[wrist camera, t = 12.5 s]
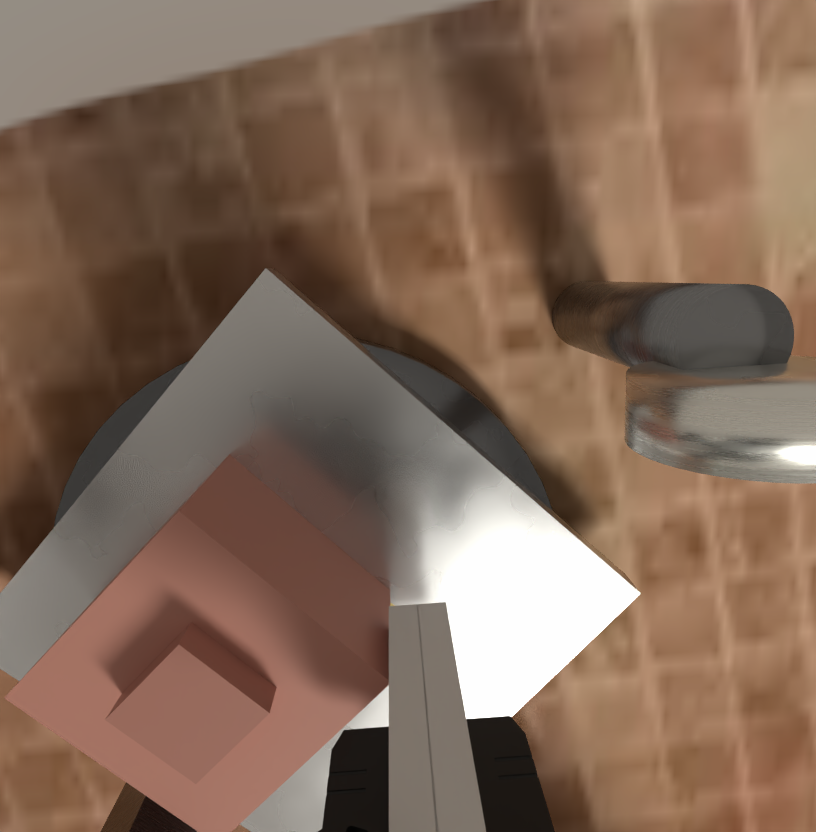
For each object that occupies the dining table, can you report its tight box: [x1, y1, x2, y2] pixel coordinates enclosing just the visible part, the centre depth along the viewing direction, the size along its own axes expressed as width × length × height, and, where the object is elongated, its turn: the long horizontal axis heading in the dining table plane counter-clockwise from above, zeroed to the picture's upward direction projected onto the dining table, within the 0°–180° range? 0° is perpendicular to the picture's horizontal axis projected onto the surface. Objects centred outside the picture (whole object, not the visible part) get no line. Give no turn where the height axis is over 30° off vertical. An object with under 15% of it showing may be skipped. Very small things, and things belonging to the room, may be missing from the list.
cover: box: [5, 454, 390, 832], centre depth 15 cm, size 6×6×5 cm
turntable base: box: [54, 338, 553, 527], centre depth 19 cm, size 16×16×1 cm
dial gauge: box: [552, 281, 816, 483], centre depth 13 cm, size 4×3×11 cm, turn 94°
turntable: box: [0, 268, 641, 832], centre depth 15 cm, size 14×14×6 cm
